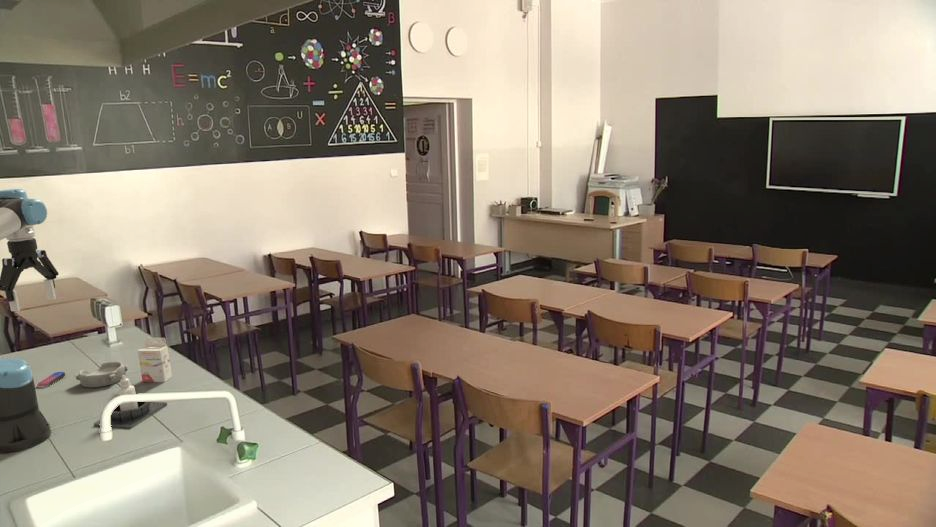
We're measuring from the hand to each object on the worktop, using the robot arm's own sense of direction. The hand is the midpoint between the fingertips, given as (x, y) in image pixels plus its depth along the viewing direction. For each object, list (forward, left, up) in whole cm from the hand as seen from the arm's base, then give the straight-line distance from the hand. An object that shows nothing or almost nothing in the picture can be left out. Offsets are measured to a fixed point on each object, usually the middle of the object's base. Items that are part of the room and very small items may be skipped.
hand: (34, 304), depth 209 cm
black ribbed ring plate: (-7, -35, -33) cm, 48 cm away
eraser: (+14, +15, -33) cm, 39 cm away
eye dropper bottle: (-7, -35, -32) cm, 48 cm away
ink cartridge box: (+20, -24, -33) cm, 45 cm away
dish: (+17, -5, -33) cm, 38 cm away
